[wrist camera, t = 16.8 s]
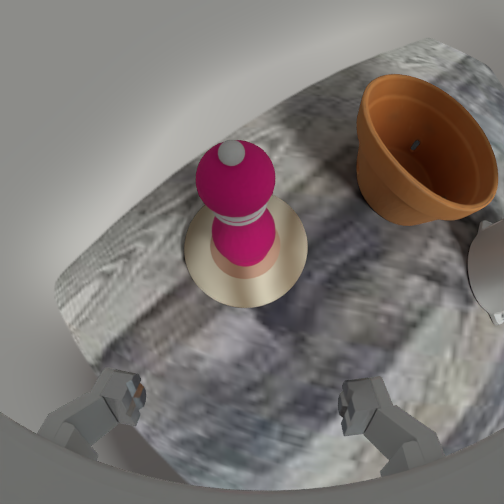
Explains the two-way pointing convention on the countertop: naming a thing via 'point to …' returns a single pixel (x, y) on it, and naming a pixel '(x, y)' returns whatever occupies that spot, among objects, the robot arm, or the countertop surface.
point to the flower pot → (421, 153)
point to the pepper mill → (238, 199)
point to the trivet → (252, 277)
